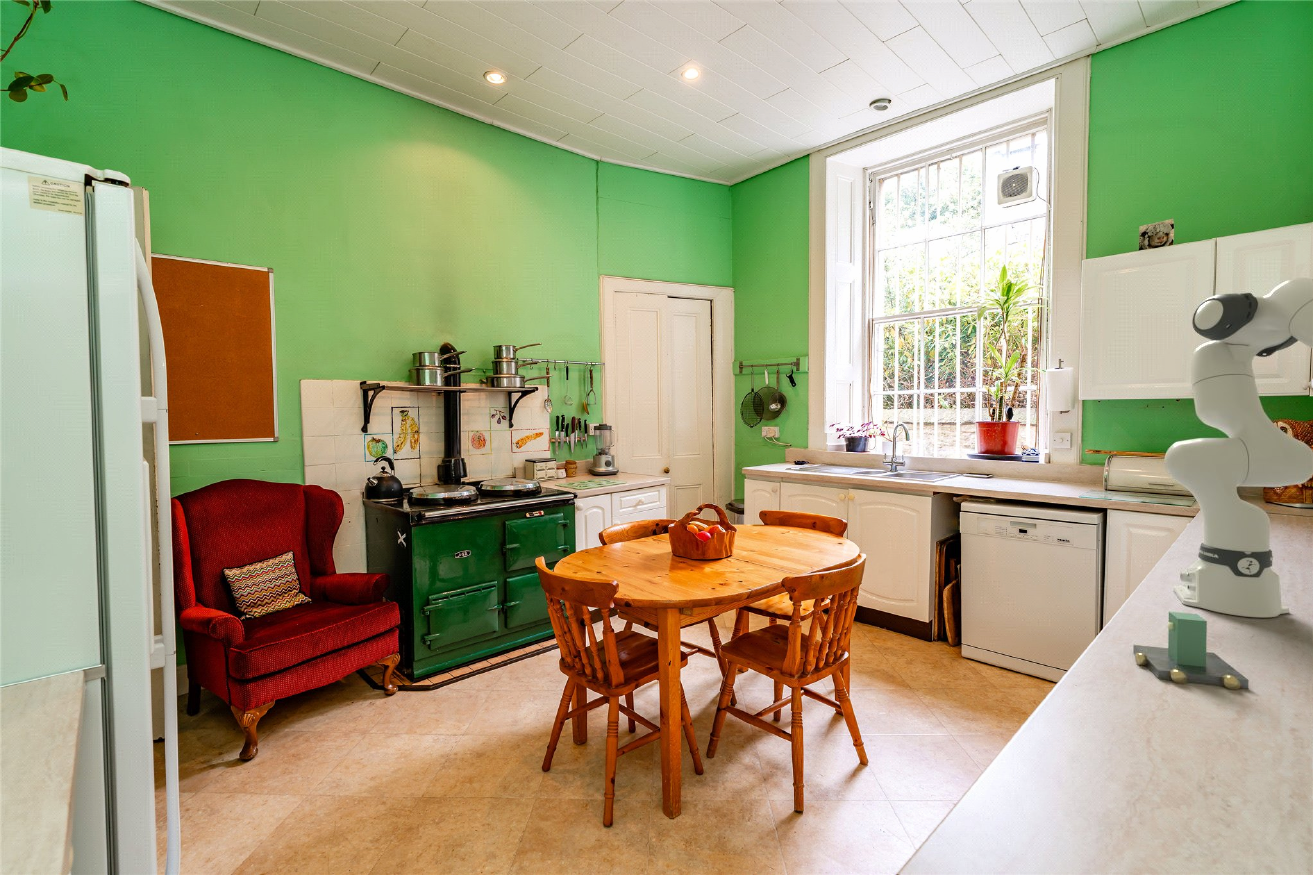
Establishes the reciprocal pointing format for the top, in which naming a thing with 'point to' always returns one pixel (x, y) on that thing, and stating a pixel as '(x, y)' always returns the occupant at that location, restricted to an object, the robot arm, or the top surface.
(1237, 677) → the level base plate
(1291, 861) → the top surface
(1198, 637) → the block
